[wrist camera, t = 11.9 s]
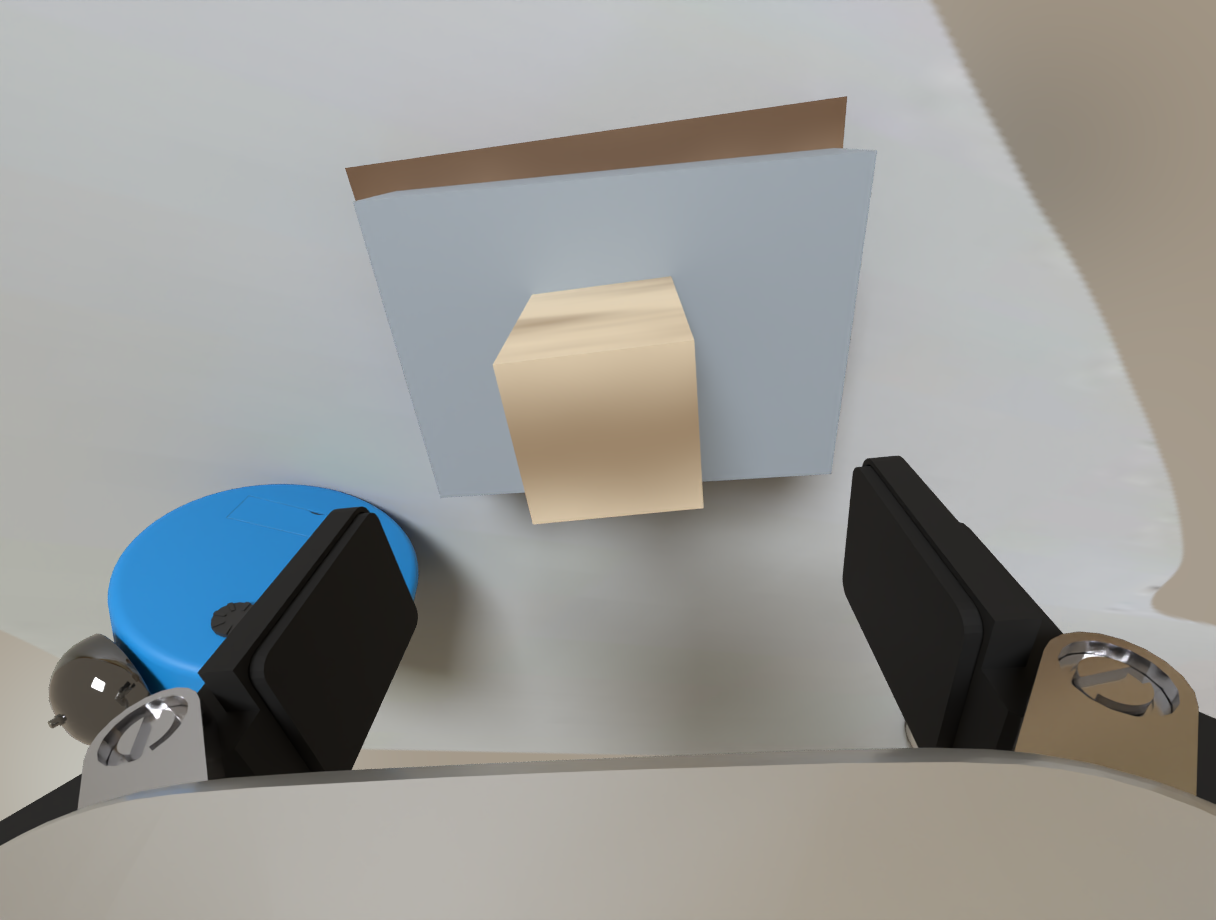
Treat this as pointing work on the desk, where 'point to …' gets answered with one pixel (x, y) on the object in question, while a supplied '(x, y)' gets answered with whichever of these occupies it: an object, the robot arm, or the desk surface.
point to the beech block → (603, 402)
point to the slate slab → (623, 252)
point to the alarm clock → (193, 595)
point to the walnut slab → (619, 149)
